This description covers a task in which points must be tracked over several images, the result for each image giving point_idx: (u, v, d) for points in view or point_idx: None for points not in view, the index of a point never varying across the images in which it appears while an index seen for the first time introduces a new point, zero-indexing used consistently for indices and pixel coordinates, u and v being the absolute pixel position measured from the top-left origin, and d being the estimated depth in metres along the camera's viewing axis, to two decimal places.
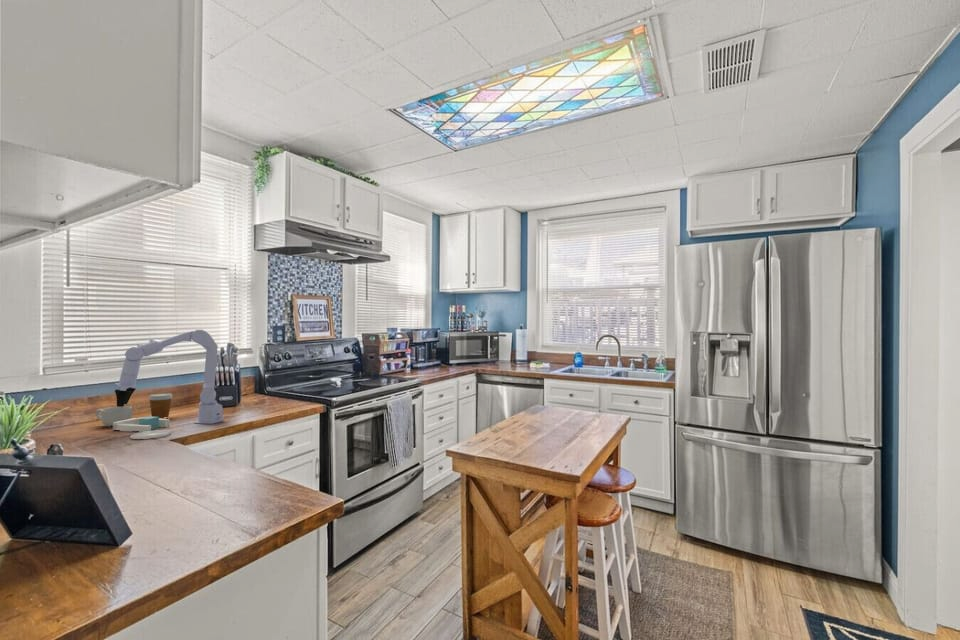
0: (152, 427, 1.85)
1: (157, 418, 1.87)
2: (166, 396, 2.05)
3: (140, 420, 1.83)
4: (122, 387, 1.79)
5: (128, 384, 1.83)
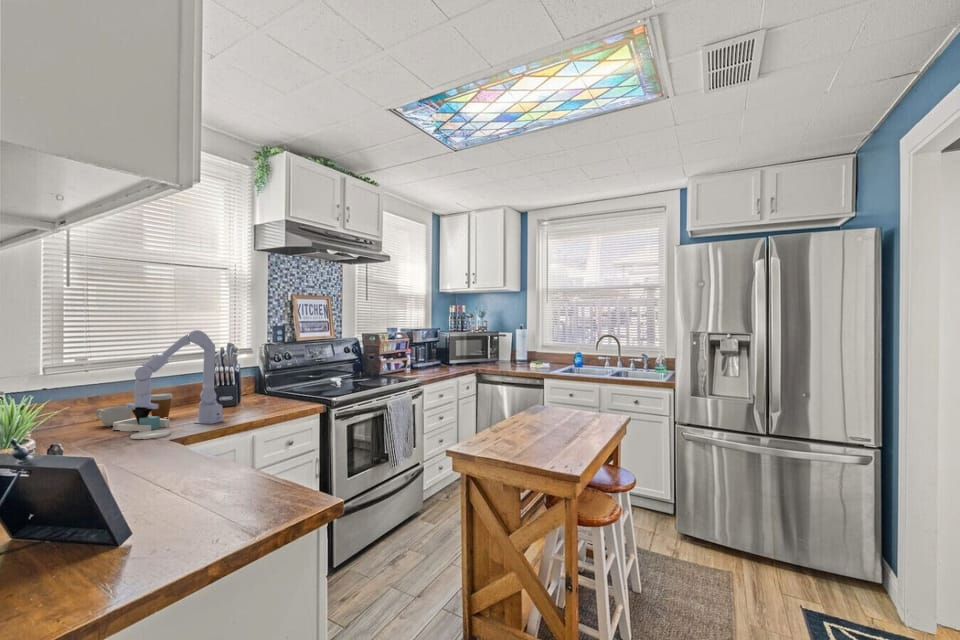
0: (153, 427, 1.85)
1: (158, 418, 1.87)
2: (166, 396, 2.05)
3: (141, 420, 1.83)
4: (155, 405, 1.85)
5: (149, 403, 1.87)
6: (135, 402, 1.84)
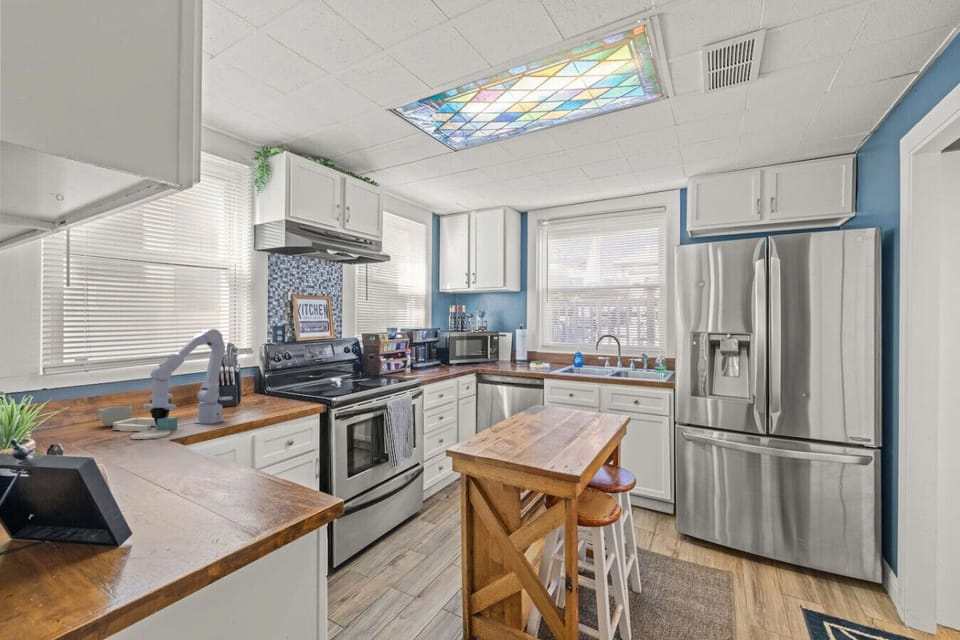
0: (171, 428, 1.83)
1: (176, 419, 1.85)
2: None
3: (159, 420, 1.82)
4: (173, 406, 1.84)
5: (167, 403, 1.85)
6: (153, 403, 1.82)
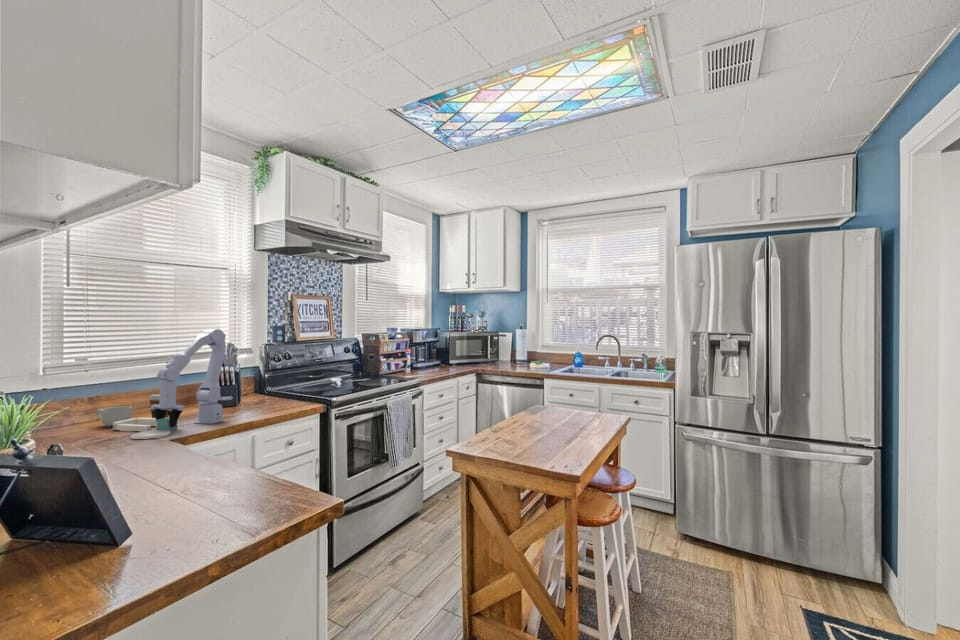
0: (171, 428, 1.83)
1: None
2: None
3: (159, 421, 1.82)
4: (181, 407, 1.83)
5: (174, 404, 1.85)
6: (160, 403, 1.82)
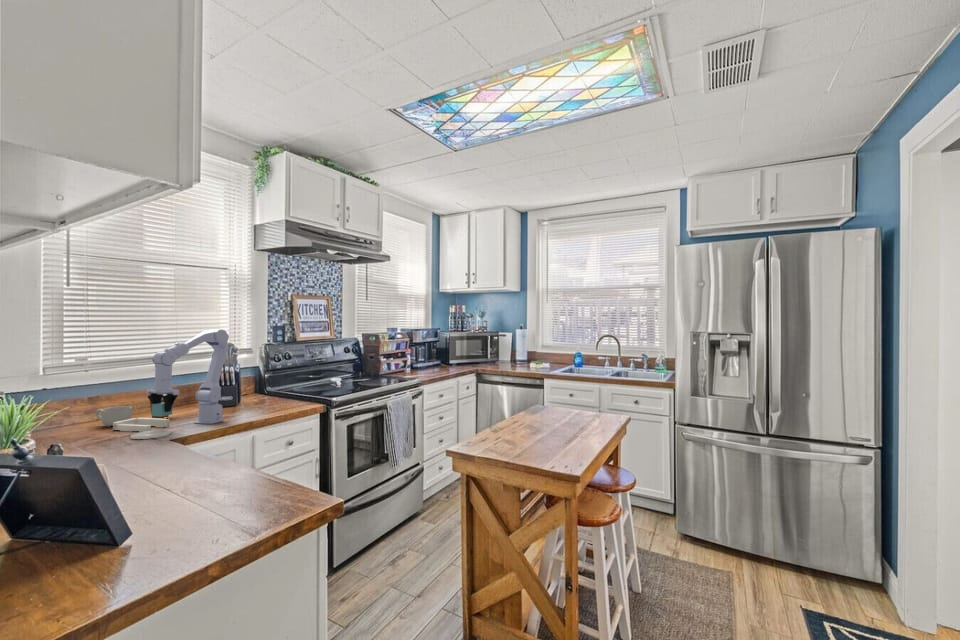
0: (166, 413, 1.80)
1: None
2: None
3: (153, 406, 1.79)
4: (177, 391, 1.80)
5: (170, 389, 1.82)
6: (156, 388, 1.79)
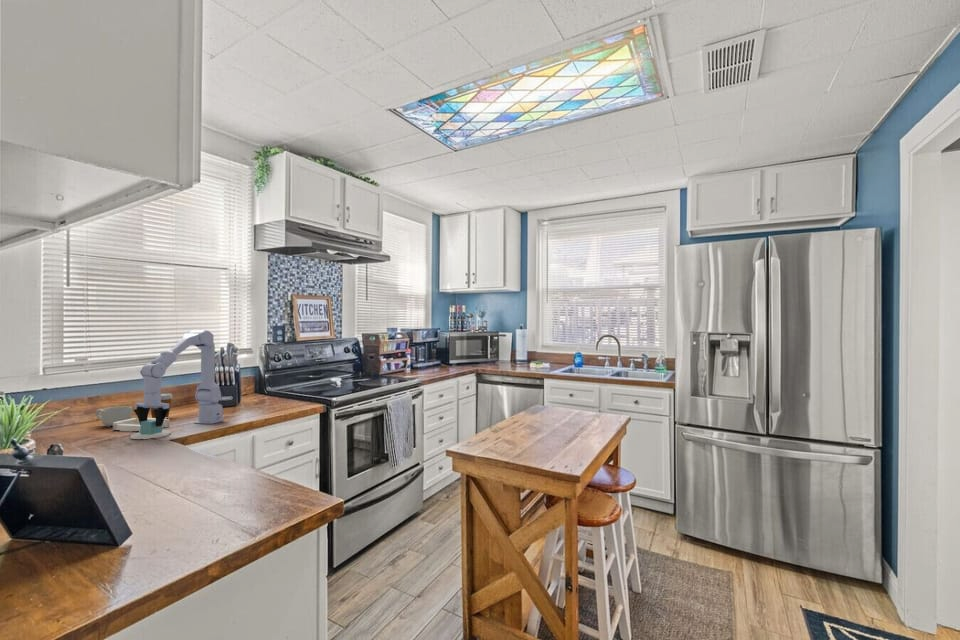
0: (155, 431, 1.73)
1: None
2: (166, 396, 2.05)
3: (142, 423, 1.72)
4: (166, 405, 1.73)
5: (159, 402, 1.75)
6: (144, 401, 1.72)
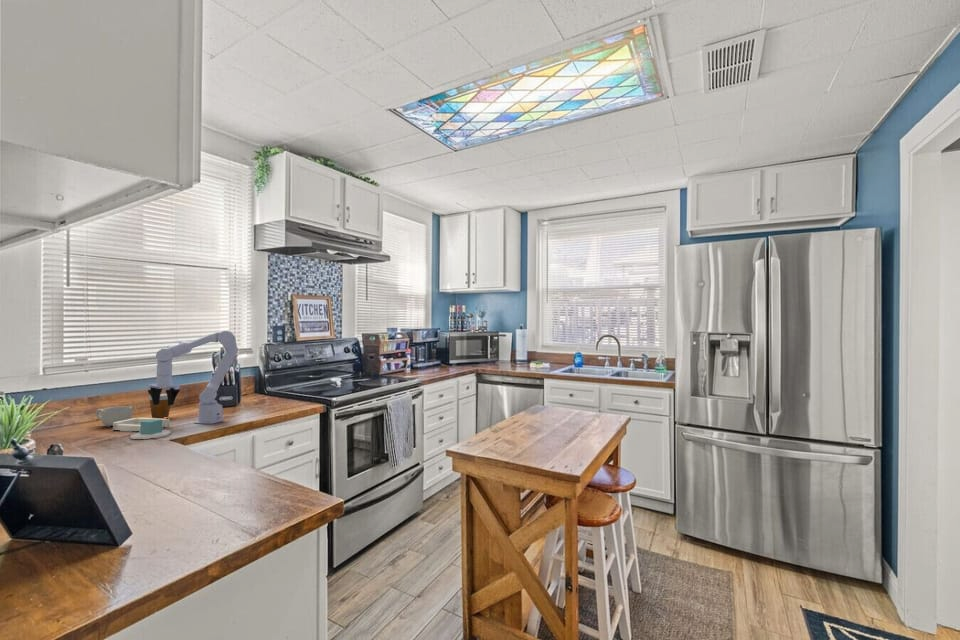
0: (155, 431, 1.73)
1: (160, 421, 1.75)
2: (166, 396, 2.05)
3: (142, 423, 1.72)
4: (177, 386, 1.92)
5: (171, 383, 1.93)
6: (157, 382, 1.90)
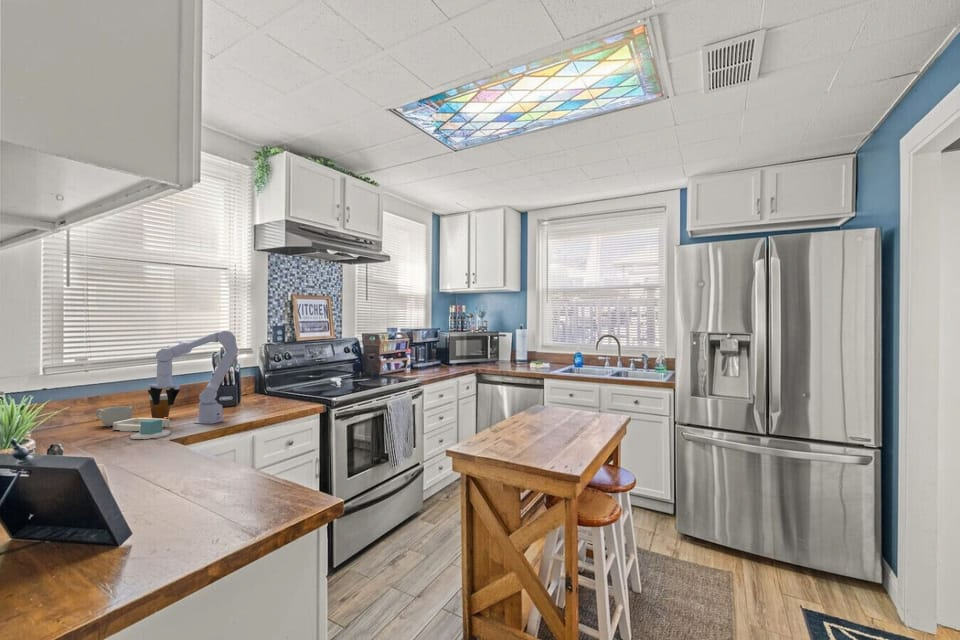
0: (155, 431, 1.73)
1: (160, 421, 1.75)
2: (166, 396, 2.05)
3: (142, 423, 1.72)
4: (177, 386, 1.92)
5: (171, 383, 1.93)
6: (157, 382, 1.90)
